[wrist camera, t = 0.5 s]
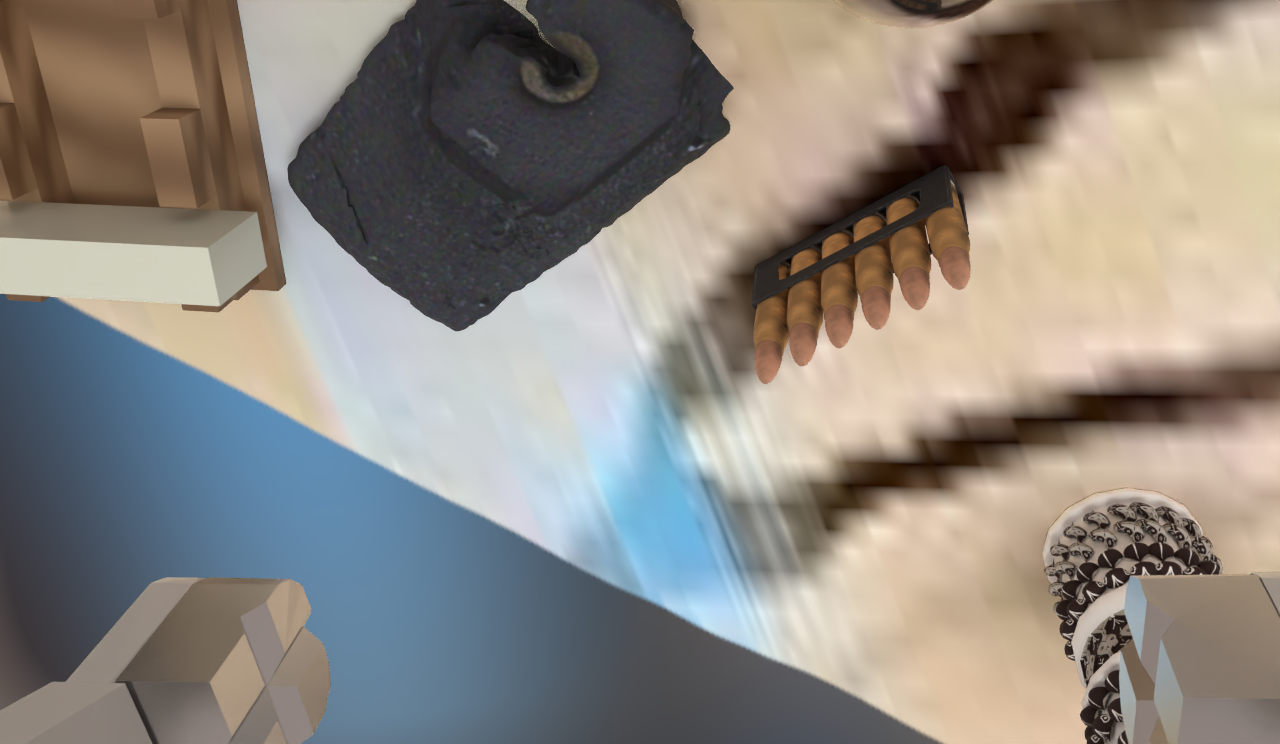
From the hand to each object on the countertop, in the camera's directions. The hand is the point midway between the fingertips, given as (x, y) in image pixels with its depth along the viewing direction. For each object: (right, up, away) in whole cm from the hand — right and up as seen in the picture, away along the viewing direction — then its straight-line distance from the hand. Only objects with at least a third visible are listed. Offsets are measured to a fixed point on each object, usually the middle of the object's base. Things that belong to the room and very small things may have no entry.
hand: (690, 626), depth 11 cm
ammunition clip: (+10, +10, +45) cm, 47 cm away
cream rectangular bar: (-28, +10, +47) cm, 56 cm away
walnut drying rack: (-27, +15, +48) cm, 57 cm away
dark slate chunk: (-7, +15, +45) cm, 48 cm away
